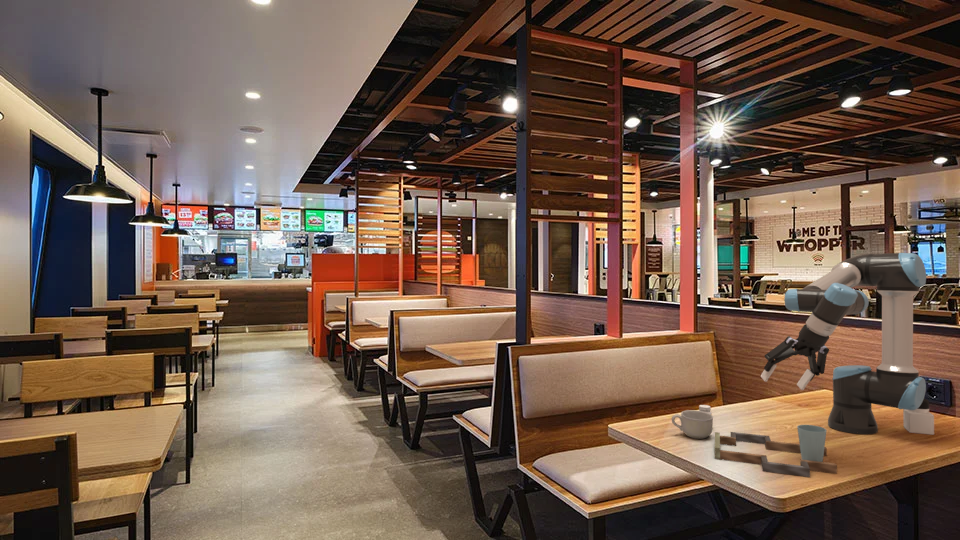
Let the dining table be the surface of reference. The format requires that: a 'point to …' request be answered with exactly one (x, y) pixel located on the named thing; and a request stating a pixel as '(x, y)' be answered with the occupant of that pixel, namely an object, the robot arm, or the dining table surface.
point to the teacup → (695, 423)
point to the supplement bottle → (705, 408)
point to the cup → (812, 442)
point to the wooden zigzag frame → (762, 459)
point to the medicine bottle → (919, 419)
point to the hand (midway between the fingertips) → (781, 383)
